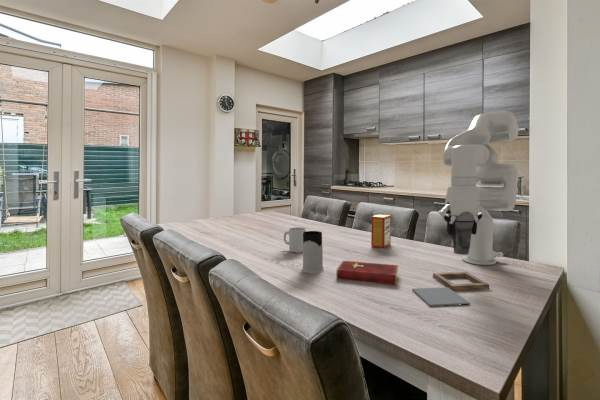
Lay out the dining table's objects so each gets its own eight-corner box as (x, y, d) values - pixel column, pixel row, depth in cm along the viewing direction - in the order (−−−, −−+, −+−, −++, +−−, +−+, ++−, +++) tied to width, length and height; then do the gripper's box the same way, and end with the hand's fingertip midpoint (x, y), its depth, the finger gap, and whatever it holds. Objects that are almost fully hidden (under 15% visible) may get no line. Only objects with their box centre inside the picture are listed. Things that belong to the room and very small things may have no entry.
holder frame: (466, 275, 114) (466, 271, 114) (489, 288, 101) (489, 284, 101) (433, 277, 113) (433, 273, 113) (452, 290, 100) (452, 286, 100)
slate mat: (447, 289, 102) (447, 287, 102) (469, 304, 90) (470, 302, 90) (412, 290, 101) (412, 288, 101) (429, 306, 89) (429, 304, 89)
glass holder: (298, 272, 121) (298, 234, 119) (310, 261, 134) (309, 227, 133) (320, 274, 118) (319, 235, 116) (329, 263, 131) (329, 228, 130)
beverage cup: (476, 256, 102) (478, 196, 100) (452, 255, 104) (454, 196, 101) (469, 250, 109) (471, 194, 107) (447, 249, 111) (448, 194, 108)
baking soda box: (378, 243, 166) (378, 213, 164) (390, 244, 162) (390, 214, 160) (371, 246, 158) (371, 215, 157) (383, 248, 154) (384, 216, 153)
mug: (309, 249, 155) (308, 227, 154) (302, 253, 147) (301, 231, 146) (288, 247, 160) (287, 226, 159) (280, 251, 152) (279, 229, 151)
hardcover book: (396, 286, 106) (396, 274, 105) (336, 280, 113) (336, 268, 112) (398, 275, 117) (398, 264, 116) (343, 270, 124) (343, 259, 124)
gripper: (481, 180, 108) (479, 230, 110) (432, 182, 107) (431, 232, 109) (495, 181, 100) (493, 235, 103) (444, 183, 99) (442, 237, 102)
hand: (461, 233), depth 106 cm, fingers closed on beverage cup, 6 cm apart
